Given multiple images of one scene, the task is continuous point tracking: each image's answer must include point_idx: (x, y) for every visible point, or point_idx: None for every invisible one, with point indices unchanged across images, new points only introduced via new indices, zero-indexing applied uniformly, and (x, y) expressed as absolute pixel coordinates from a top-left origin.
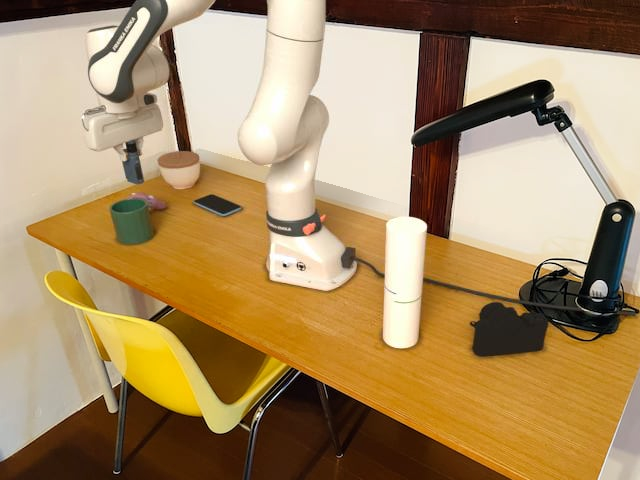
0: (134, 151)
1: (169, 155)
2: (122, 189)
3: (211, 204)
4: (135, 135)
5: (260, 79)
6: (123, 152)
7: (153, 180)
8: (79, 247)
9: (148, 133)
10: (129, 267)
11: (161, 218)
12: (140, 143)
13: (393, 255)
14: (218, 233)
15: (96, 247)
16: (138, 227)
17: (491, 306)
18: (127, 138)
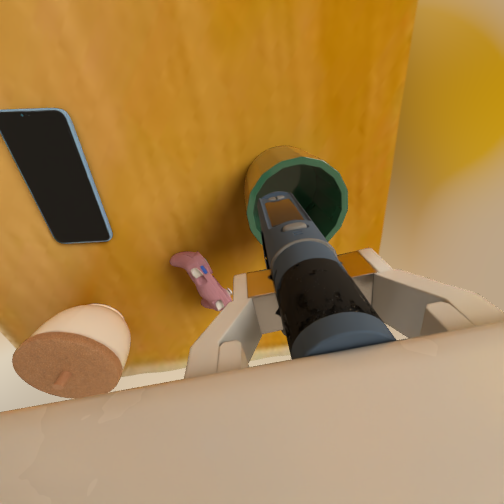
0: (320, 262)
1: (84, 388)
2: None
3: (75, 191)
4: (307, 402)
5: None
6: (406, 279)
7: (145, 359)
8: (371, 223)
9: (99, 407)
10: (383, 45)
11: (201, 222)
12: (228, 332)
13: None
14: (117, 20)
15: (355, 200)
16: (299, 151)
17: None
18: (454, 372)
